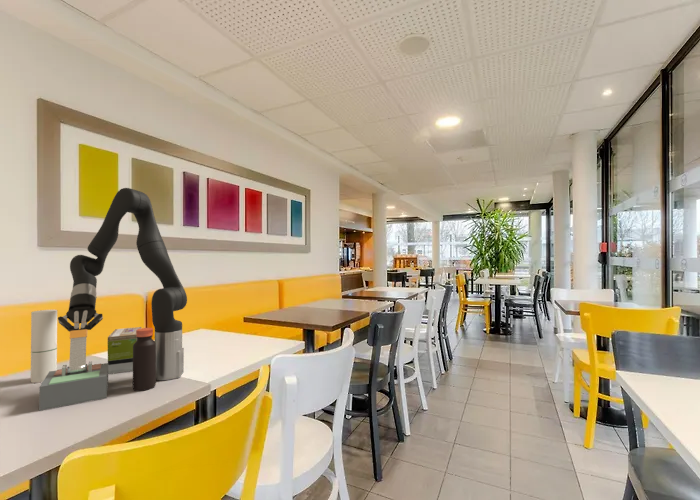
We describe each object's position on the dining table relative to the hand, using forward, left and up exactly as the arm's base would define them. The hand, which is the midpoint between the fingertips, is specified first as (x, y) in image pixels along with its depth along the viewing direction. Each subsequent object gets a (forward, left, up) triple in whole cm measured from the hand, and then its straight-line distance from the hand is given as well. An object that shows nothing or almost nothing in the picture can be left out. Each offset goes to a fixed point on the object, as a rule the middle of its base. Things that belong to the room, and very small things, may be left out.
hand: (78, 340), depth 115 cm
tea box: (-6, -24, -17) cm, 30 cm away
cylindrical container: (+18, -16, -17) cm, 30 cm away
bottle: (-21, +2, -17) cm, 27 cm away
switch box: (-2, +4, -17) cm, 18 cm away
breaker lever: (-2, +5, -10) cm, 11 cm away
